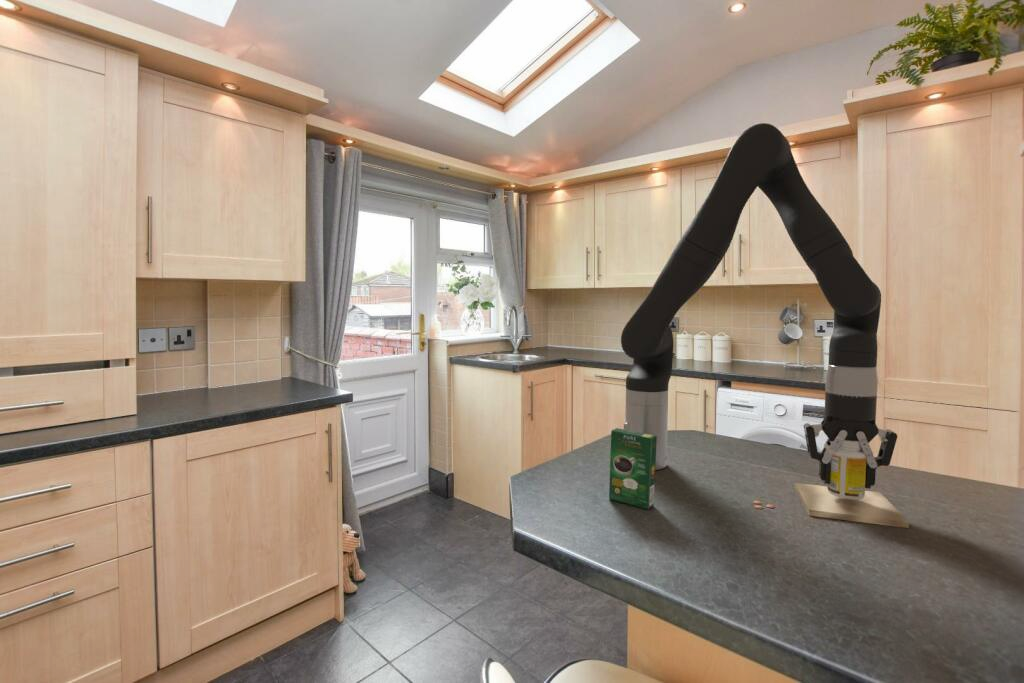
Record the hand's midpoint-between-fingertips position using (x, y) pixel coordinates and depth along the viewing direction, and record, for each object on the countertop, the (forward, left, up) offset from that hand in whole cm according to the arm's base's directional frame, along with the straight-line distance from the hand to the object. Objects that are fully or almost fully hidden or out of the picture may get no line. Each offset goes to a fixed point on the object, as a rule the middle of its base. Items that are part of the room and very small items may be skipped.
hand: (846, 484), depth 89 cm
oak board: (0, 0, -4) cm, 4 cm away
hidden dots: (-14, -5, -4) cm, 15 cm away
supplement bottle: (0, 0, -2) cm, 2 cm away
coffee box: (-36, -12, -4) cm, 38 cm away
